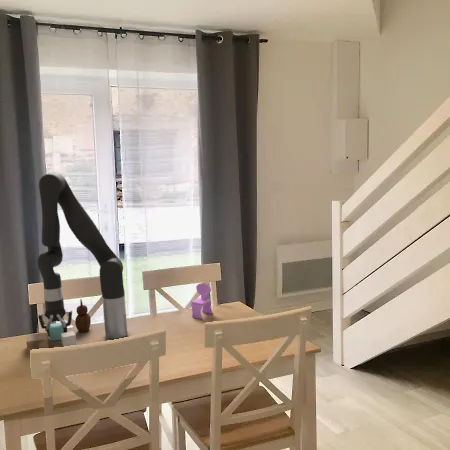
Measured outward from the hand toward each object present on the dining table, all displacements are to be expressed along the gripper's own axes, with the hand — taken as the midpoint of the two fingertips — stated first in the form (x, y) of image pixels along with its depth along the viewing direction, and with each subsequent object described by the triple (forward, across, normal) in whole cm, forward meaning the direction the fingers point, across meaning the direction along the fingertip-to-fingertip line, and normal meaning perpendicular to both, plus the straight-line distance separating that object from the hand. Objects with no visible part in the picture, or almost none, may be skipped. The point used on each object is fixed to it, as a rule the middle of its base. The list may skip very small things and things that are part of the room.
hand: (57, 336), depth 222 cm
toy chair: (+1, -64, -9) cm, 64 cm away
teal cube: (+1, 0, 0) cm, 1 cm away
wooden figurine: (+1, -10, -6) cm, 12 cm away
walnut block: (+1, +6, +9) cm, 11 cm away
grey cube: (+1, -6, +10) cm, 12 cm away
